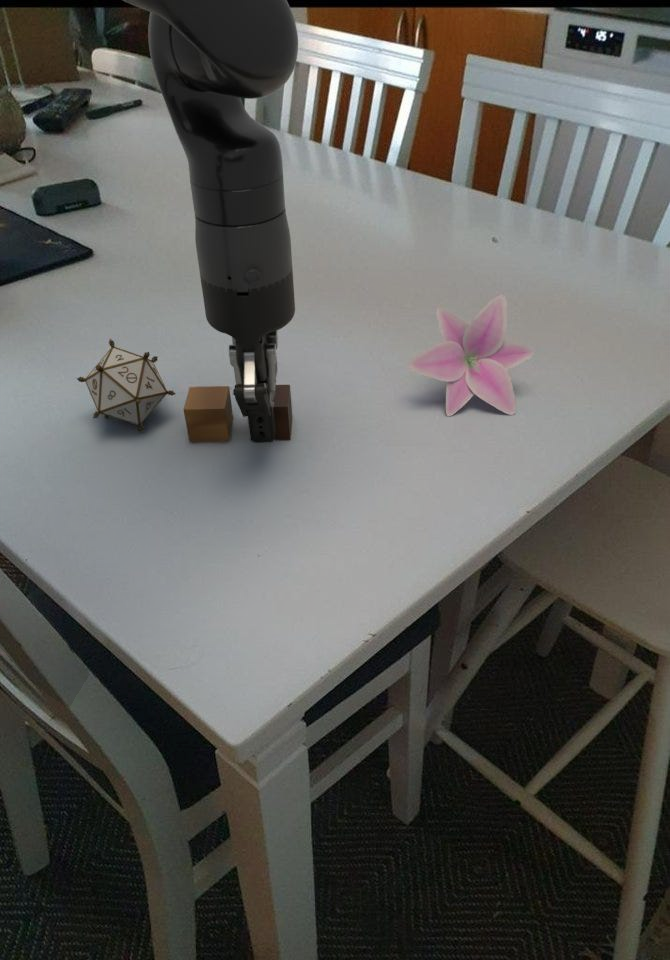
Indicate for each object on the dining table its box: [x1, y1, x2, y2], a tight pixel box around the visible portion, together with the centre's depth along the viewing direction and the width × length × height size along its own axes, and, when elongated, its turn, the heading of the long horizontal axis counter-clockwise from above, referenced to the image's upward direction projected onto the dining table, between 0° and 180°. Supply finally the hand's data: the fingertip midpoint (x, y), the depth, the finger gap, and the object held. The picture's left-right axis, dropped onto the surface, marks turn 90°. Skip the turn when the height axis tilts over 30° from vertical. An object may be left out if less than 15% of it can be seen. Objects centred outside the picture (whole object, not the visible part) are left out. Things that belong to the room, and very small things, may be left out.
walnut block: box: [247, 384, 294, 442], centre depth 81 cm, size 4×4×4 cm
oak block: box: [182, 385, 234, 443], centre depth 81 cm, size 4×4×4 cm
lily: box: [406, 294, 535, 417], centre depth 83 cm, size 12×12×10 cm
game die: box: [76, 338, 177, 434], centre depth 81 cm, size 9×8×10 cm
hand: (263, 438), depth 76 cm, fingers closed
